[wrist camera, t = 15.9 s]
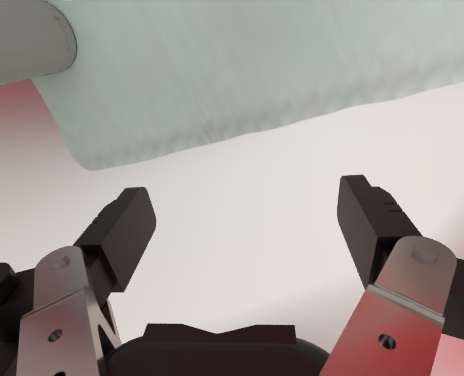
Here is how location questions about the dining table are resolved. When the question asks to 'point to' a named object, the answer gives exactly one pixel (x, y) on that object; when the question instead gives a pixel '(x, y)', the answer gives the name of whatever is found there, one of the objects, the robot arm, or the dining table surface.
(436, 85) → the dining table surface
